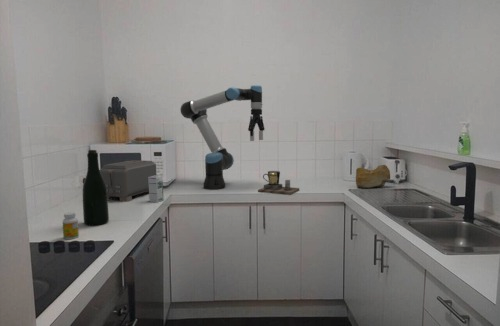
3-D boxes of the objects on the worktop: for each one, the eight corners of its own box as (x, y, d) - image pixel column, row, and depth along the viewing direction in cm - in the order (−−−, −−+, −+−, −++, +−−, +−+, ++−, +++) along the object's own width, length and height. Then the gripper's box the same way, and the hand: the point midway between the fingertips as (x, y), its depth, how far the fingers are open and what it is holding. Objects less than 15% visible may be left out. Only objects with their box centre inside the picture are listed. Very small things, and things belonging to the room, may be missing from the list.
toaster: (95, 201, 212) (93, 166, 210) (133, 190, 245) (132, 159, 242) (123, 203, 205) (121, 167, 203) (158, 191, 238) (157, 160, 236)
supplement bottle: (60, 238, 144) (58, 214, 143) (71, 234, 149) (70, 211, 148) (70, 240, 142) (69, 215, 141) (81, 236, 147) (80, 212, 146)
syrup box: (157, 202, 206) (157, 176, 204) (149, 201, 208) (148, 176, 206) (163, 200, 211) (162, 175, 210) (155, 199, 213) (154, 175, 212)
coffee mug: (280, 184, 259) (280, 170, 258) (280, 187, 251) (280, 172, 250) (263, 184, 260) (263, 170, 259) (263, 186, 252) (262, 172, 251)
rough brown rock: (381, 185, 259) (380, 164, 258) (393, 187, 242) (392, 164, 242) (349, 187, 256) (348, 165, 256) (359, 189, 240) (358, 166, 239)
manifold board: (258, 192, 234) (257, 180, 233) (268, 187, 248) (268, 176, 247) (290, 194, 224) (290, 182, 223) (299, 190, 238) (299, 178, 237)
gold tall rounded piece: (267, 188, 236) (267, 173, 235) (270, 187, 241) (270, 172, 240) (275, 189, 234) (275, 173, 233) (278, 188, 239) (278, 172, 237)
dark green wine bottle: (96, 218, 172) (92, 148, 169) (114, 221, 168) (110, 149, 165) (78, 224, 163) (73, 150, 159) (96, 227, 159) (92, 151, 155)
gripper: (253, 108, 234) (253, 141, 237) (269, 109, 256) (269, 139, 259) (242, 108, 238) (243, 141, 240) (259, 109, 260) (259, 139, 262)
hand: (256, 140), depth 249 cm, fingers open, 13 cm apart
